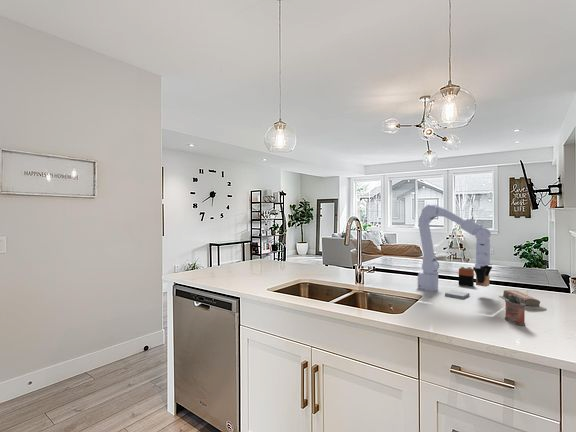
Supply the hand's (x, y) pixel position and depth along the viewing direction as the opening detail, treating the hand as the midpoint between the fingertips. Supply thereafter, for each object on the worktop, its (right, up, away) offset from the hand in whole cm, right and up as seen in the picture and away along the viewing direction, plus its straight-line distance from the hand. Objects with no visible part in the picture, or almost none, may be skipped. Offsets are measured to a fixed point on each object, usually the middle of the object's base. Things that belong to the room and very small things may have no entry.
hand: (482, 282), depth 157 cm
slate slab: (-12, -7, 0) cm, 14 cm away
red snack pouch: (-9, -8, -35) cm, 37 cm away
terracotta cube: (0, -2, 0) cm, 2 cm away
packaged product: (+11, -8, -11) cm, 17 cm away
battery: (+6, -7, +26) cm, 28 cm away
